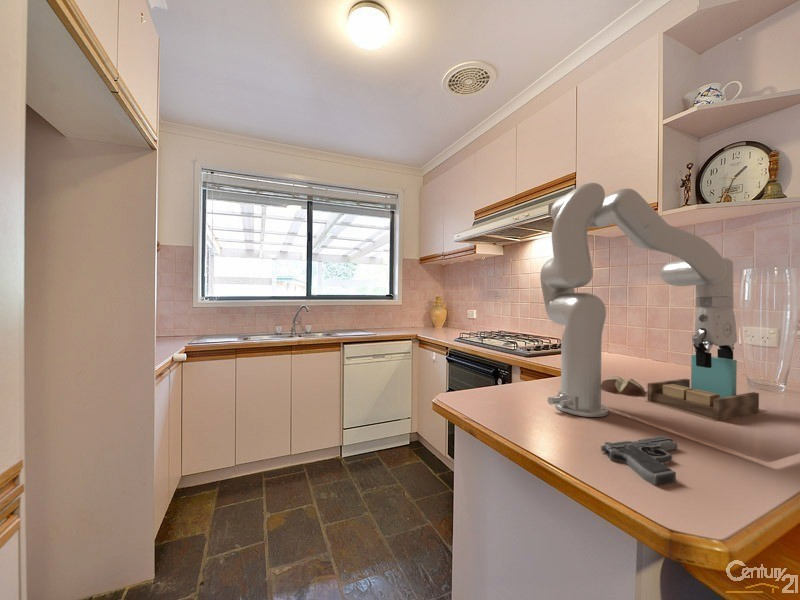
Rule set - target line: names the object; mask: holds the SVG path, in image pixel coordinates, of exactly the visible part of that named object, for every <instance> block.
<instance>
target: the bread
mask: <svg viewBox="0 0 800 600" xmlns="http://www.w3.org/2000/svg"><path fill="white" fill-rule="evenodd" d="M601 391H605V392H607V393H611V394H616V395H623V396H629V397H641V396H643V395H644V394H645V389H644V387H643V386H642V385H641V384H640V383H639V382H637V381H636V380H634V379H633V378H628V379H626V380H625V379H623V378H622V377H620V376H610V377H607V378H605V379H604V380H602V381H601Z"/></svg>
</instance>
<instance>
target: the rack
mask: <svg viewBox="0 0 800 600" xmlns="http://www.w3.org/2000/svg"><path fill="white" fill-rule="evenodd" d="M667 384H675V385H679V386H684V387H688V388H691V378H689V379H688V378H681V379H680V378H679V379H673V380H672V379H671V380H663V381H654V382H648V383H647V399H646V400H645V402H647V403H650V404H654V405H656V406H660V407H664V408H667V409H670V410H674V411H678V412H681V413H683V414H684V413H685V414H688V415H691V416H695V417H699V418H701V419H704V420H705V419H706V420H709V421H712V422H716V423H717V422H721V421H725V420H726V421H727V420H731V419H735V418H740V417H746V416H751V415H755V414H759V413H764V412H767V410H764V409H761V408H759V407H760V393H759V392H756V391H755V392H754V391H752V392H747V393H741V394H736V395H733V396H727V397H721V398H715V399H713V407H710V406H706V405H702V404H698V403H694V402H690V401H687V400H683V399H679V398H675V397H671V396H667V395H663V385H667Z"/></svg>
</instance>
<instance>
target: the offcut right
mask: <svg viewBox="0 0 800 600" xmlns="http://www.w3.org/2000/svg"><path fill="white" fill-rule="evenodd" d="M715 398H720V394H715V393H711V392H706V391H702V390H697V389H693V390H686V400H687V401H690V402H694V403H698V404H702V405H706V406H710V407H713V399H715Z"/></svg>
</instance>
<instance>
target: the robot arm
mask: <svg viewBox="0 0 800 600" xmlns="http://www.w3.org/2000/svg"><path fill="white" fill-rule="evenodd" d="M550 216H551V219H552V220H553V224H552V229H551V245H552V253H553V257H552V258H550V259H548V260H547V261H546V262H545V263H543V265H542V267H541V269H540V275H539V277H540V278H539V280H540V286H541V290H542V291H541V292H542V297H543V303H544V308H545V311H546V315H547V316H548V318H549V320H551V322H553V323H555V324H556V325H561V326H565V327H564V329H563V331H562V332H563V333H562V337H561V343H560V351H561V352H560V353H561V355H560V356H561V357H560V390H559V391H558V392H557V395H556V396H549V397H547V403H548V404H549V405H551V406H552V405H554V406H555V408H556V409H557V410H560V411H561V412H563V413H567V414H570V415H573V416H574V415H575V416H580V417H584V418H586V417H588V418H598V417H599V418H601V417H605V416H606V417H607V415H608V414H609V409H608V408H607V407H606V405H604V404H602V389H601V384H602V343H603V342H602V341H603V340H602V339H603V333H604V332H603V331H604V325H605V322H606V318H607V308H606V305H605V302H604V301H603V300H602V299H601V298H600V297H599V296H597V295H595V294H593V293H589V292H575V289H579V288H582V287H584V286H587V285H588V284H589V283H591V282H592V280H593V275H594V269H593V263H592V259H591V258H592V257H591V252H590V247H589V240H588V239H589V237H588V229H589V228H605V227H609V226H612V225H616V227H618V228H619V229H620V231H621V232H622V233H623V234H624V235H625V236H626V237H627V238H628V239H630V241H632V243H633V244H634V245H635V246H636V247H639V248H641V249H645V250H649V251H654V252H660V253H664V254H668V255H671V256H673V257H676V258H678V259H675V260H672V261H669V262H667V263H665V264H664V265H663V266H662V268H661V270H660V277H661V279H662V280H663V282H665V283H666V284H668V285H670V286H673V287H674V286H675V287H689V286H690V287H692V286H695V309H696V313H695V314H696V315H695V321H694V322H695V323H694V335H692V336H691V339H692V343H693V344H692V345H693V347H694V352H695V354H696V366H700V367H706V368H711V367H712V359H711V357H712V352H711V350H712V348H713V345H714V346H716V347H718V348H717V357H718V358H725V359H732V360H734V350H735V347H734V345H735V344H736V343H737V342H738V338H737V337H738V336H737V324H736V317H735V316H736V315H735V311H734V310H735V309H734V306H735V304H734V262H733V260H731V258H730V259H729V258H726V257H725V258H724V257H722V255H721V254H720V253H719V252H718V251H717V250H716V249H715V247H714V246H712V244H710V243H709V242H708V241H707V240H706V239H703V238H702V237H700V236H699V235H696V234H693V233H691V232H689V231H687V230H684V229H682V228H679V227H675V226H672V225H671V224H669V223H668V222H667V221H666V220H665V219H664V218H662V217H663V216H661V215H660V214H659V213H658V212H657V211H656V210H655V209H654V208H653V207H652V206H651V205H650V204H649V202H647V200H646V199H644V197H643V195H641V194H640V193H639V192H637V191H636V190H635V189H633V188H622V189H619V190H616V191H613V192H611V193H609V194H607V195H606V192H605V189H604V187H603V186H602V185H601V184H599V183H597V182H588V183H584V184H582V185H580V186H578V187H576V188H574V189H573V190H571V191H569V192H568V193H566V194H564V195H562V196H561V197H559V198H557V199H556V201H554V202H553V204H552V205H551V209H550Z"/></svg>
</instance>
